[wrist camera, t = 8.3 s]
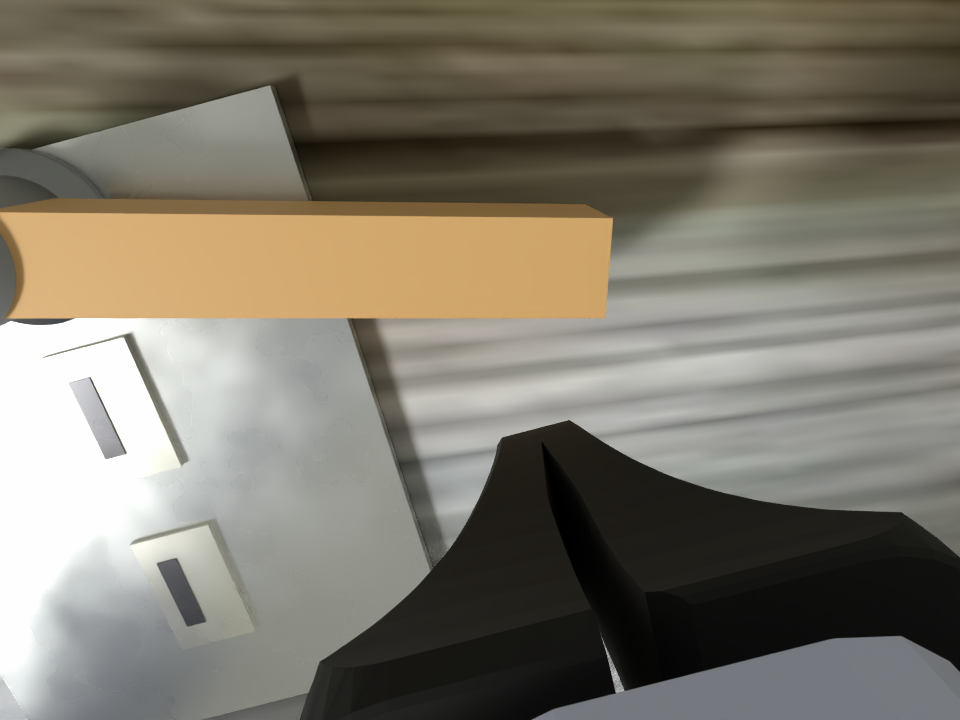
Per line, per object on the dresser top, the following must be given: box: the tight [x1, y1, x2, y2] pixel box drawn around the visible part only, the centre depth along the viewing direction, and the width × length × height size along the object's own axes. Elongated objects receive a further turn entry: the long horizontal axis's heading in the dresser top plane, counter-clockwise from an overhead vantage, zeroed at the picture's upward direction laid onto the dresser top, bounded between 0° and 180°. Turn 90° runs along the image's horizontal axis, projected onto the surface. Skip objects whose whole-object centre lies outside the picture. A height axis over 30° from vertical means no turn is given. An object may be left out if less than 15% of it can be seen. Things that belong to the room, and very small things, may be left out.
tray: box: [0, 85, 433, 720], centre depth 20 cm, size 18×14×1 cm
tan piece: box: [0, 175, 613, 326], centre depth 16 cm, size 16×3×3 cm, turn 89°
